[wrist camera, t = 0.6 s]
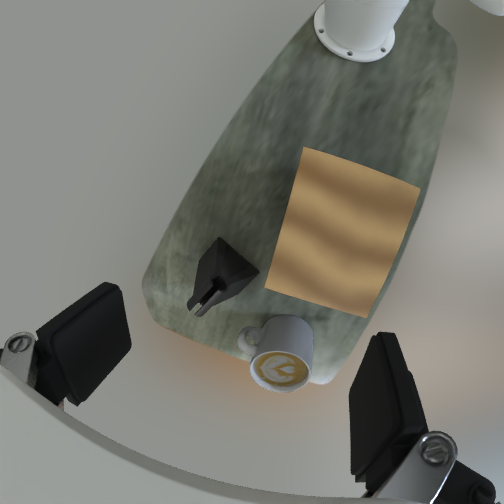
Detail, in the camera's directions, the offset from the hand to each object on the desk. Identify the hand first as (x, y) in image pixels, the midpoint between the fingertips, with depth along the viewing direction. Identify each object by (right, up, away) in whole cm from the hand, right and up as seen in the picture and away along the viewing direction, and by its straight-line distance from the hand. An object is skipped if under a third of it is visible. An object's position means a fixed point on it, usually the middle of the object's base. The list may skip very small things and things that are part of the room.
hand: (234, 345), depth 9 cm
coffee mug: (+6, -11, +40) cm, 42 cm away
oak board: (+12, +5, +26) cm, 29 cm away
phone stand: (-3, +1, +38) cm, 38 cm away
